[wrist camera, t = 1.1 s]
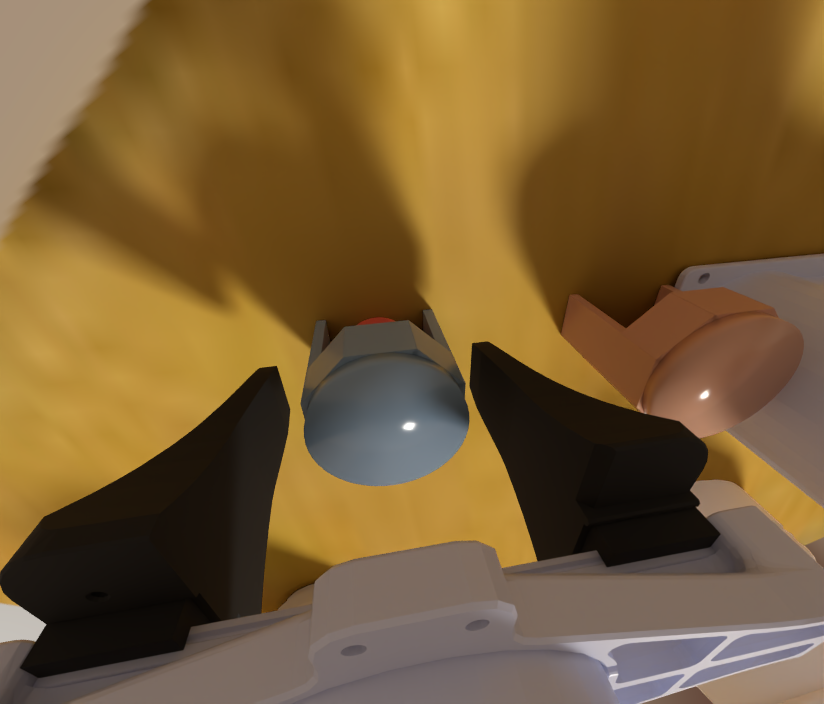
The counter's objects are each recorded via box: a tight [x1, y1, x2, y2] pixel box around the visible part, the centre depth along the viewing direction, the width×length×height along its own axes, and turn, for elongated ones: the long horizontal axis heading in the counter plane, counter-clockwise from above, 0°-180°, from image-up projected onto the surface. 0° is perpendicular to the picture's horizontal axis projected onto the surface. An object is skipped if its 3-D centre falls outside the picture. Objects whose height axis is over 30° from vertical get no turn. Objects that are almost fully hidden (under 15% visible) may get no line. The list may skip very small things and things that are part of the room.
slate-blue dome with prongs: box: [301, 309, 469, 486], centre depth 13 cm, size 5×5×6 cm
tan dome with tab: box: [561, 285, 804, 438], centre depth 14 cm, size 5×5×6 cm
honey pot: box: [690, 480, 824, 704], centre depth 22 cm, size 13×13×18 cm
